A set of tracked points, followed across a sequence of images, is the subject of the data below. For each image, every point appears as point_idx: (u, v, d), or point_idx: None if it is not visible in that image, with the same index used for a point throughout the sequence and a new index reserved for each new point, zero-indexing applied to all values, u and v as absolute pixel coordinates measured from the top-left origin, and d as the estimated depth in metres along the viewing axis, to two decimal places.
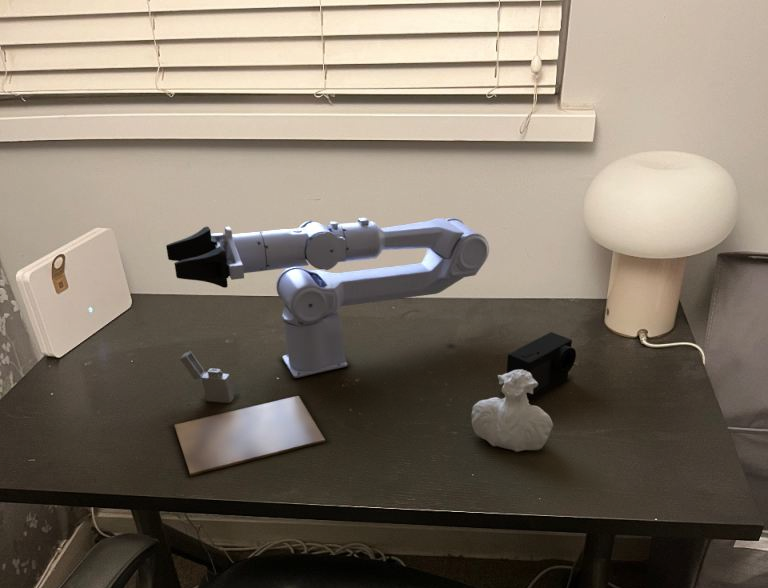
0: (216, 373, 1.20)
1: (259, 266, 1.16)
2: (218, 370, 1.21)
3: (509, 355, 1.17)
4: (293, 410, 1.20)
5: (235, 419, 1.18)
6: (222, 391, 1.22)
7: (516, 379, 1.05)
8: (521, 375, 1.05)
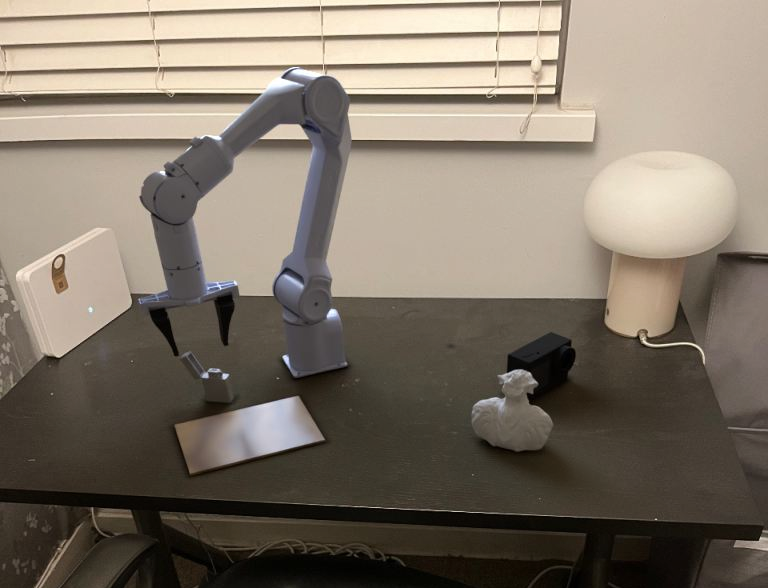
0: (216, 373, 1.20)
1: None
2: (218, 370, 1.21)
3: (509, 355, 1.17)
4: (293, 410, 1.20)
5: (235, 419, 1.18)
6: (222, 391, 1.22)
7: (516, 379, 1.05)
8: (521, 375, 1.05)
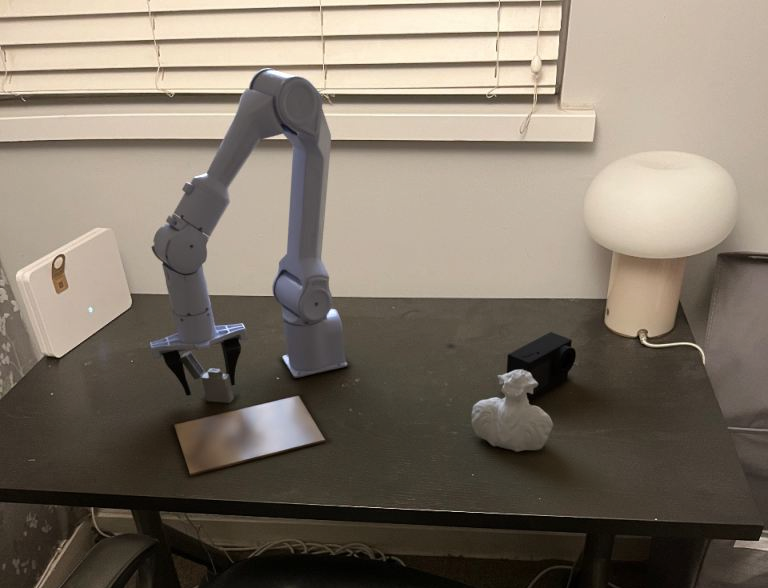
0: (216, 373, 1.20)
1: None
2: (218, 370, 1.21)
3: (509, 355, 1.17)
4: (293, 410, 1.20)
5: (235, 419, 1.18)
6: (222, 391, 1.22)
7: (516, 379, 1.05)
8: (521, 375, 1.05)
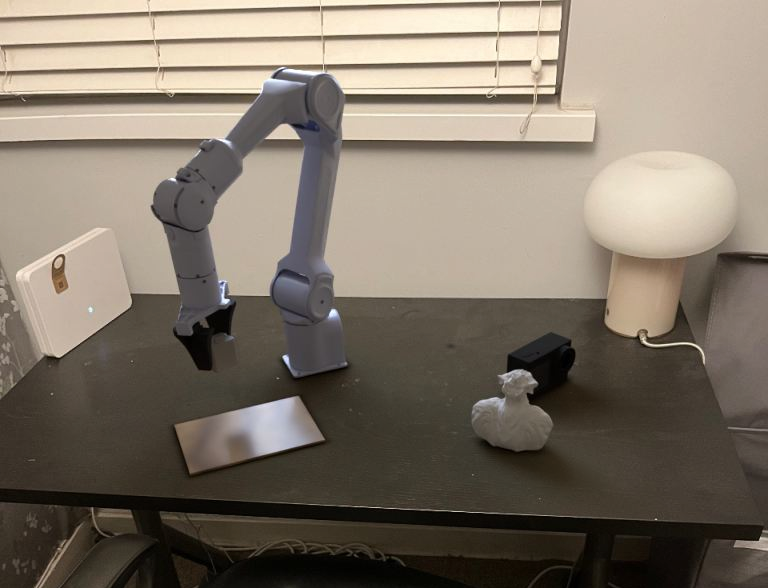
0: (223, 336, 1.15)
1: None
2: (222, 333, 1.15)
3: (509, 355, 1.17)
4: (293, 410, 1.20)
5: (235, 419, 1.18)
6: (231, 353, 1.17)
7: (516, 379, 1.05)
8: (521, 375, 1.05)
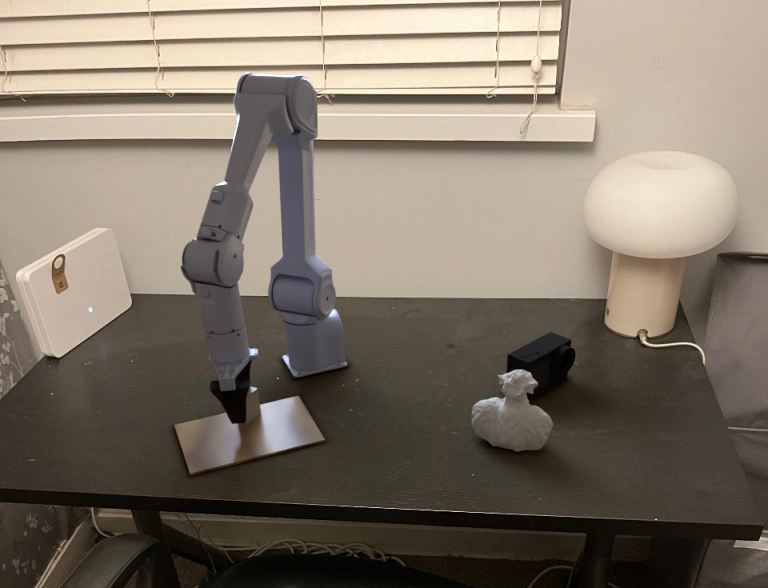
0: (249, 388, 1.16)
1: None
2: None
3: (509, 355, 1.17)
4: (293, 410, 1.20)
5: None
6: (256, 404, 1.18)
7: (516, 379, 1.05)
8: (521, 375, 1.05)
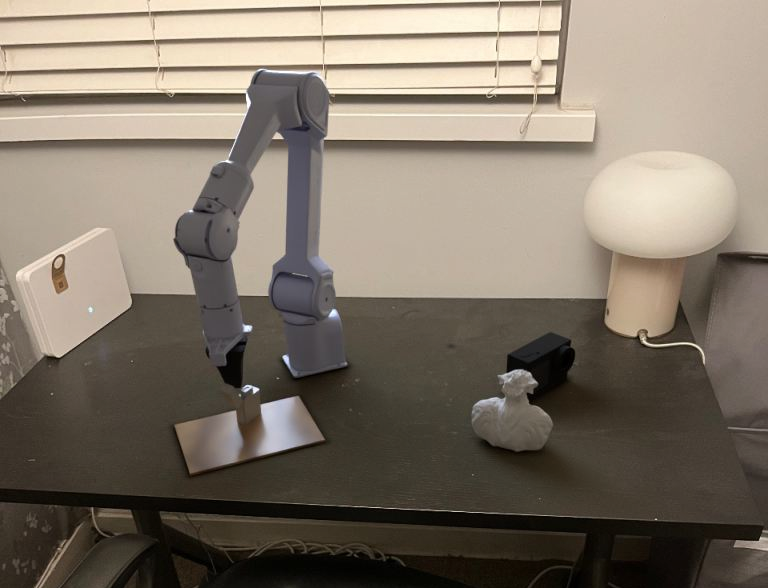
0: (251, 388, 1.15)
1: None
2: (248, 386, 1.15)
3: (509, 355, 1.17)
4: (293, 410, 1.20)
5: (235, 419, 1.18)
6: (257, 404, 1.18)
7: (516, 379, 1.05)
8: (521, 375, 1.05)
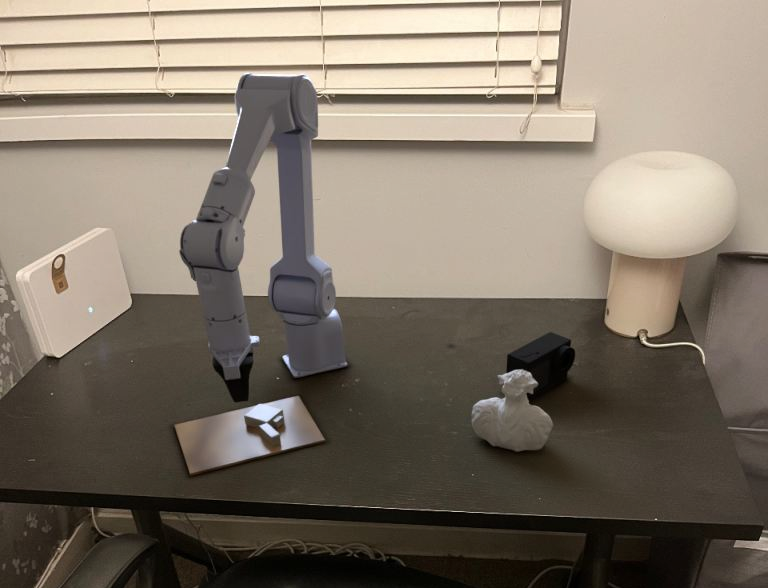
0: None
1: None
2: (283, 419, 1.16)
3: (509, 355, 1.17)
4: (293, 410, 1.20)
5: (235, 419, 1.18)
6: None
7: (516, 379, 1.05)
8: (521, 375, 1.05)
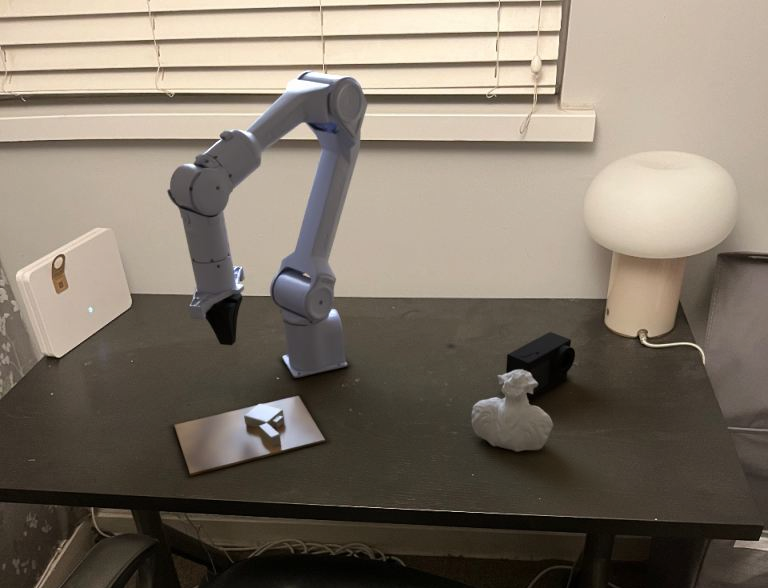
0: None
1: None
2: (283, 419, 1.16)
3: (508, 355, 1.17)
4: (293, 410, 1.20)
5: (235, 419, 1.18)
6: None
7: (516, 379, 1.05)
8: (521, 375, 1.05)
